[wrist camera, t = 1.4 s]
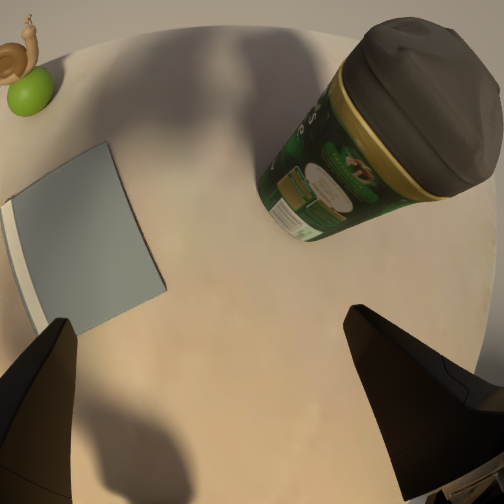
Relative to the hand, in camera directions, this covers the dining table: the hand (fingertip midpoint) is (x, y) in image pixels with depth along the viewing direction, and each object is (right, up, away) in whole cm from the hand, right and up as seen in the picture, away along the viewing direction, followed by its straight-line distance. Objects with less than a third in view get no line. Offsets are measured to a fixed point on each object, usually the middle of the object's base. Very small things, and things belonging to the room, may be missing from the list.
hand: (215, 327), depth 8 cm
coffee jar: (+6, +8, +16) cm, 19 cm away
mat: (-14, +3, +11) cm, 19 cm away
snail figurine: (-21, +18, +12) cm, 30 cm away
